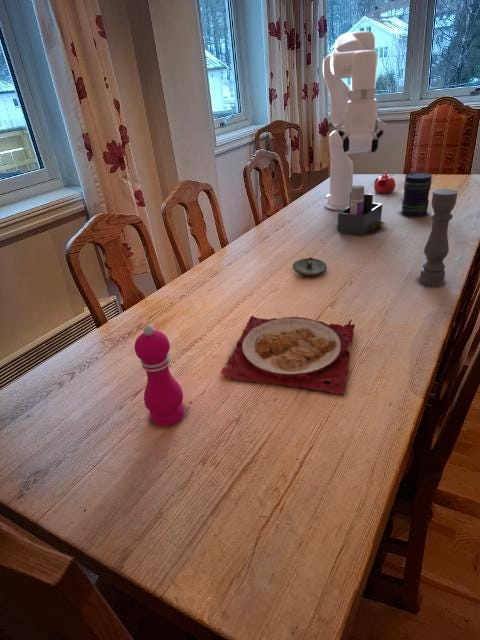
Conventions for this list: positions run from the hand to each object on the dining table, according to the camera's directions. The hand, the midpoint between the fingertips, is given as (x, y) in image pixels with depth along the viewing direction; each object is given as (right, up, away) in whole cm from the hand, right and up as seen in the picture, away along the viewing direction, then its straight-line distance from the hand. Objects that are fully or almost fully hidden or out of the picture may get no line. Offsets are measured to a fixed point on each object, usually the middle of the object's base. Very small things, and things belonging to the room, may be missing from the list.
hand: (359, 151), depth 147 cm
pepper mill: (-55, -76, -65) cm, 114 cm away
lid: (-19, -43, -13) cm, 49 cm away
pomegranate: (+28, +3, +58) cm, 64 cm away
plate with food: (-30, -65, -50) cm, 88 cm away
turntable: (+5, -22, +17) cm, 29 cm away
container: (+2, -23, +14) cm, 27 cm away
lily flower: (+9, -22, +17) cm, 29 cm away
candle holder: (+13, -47, -26) cm, 56 cm away
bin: (+5, -22, +17) cm, 29 cm away
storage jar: (+29, -15, +26) cm, 42 cm away
